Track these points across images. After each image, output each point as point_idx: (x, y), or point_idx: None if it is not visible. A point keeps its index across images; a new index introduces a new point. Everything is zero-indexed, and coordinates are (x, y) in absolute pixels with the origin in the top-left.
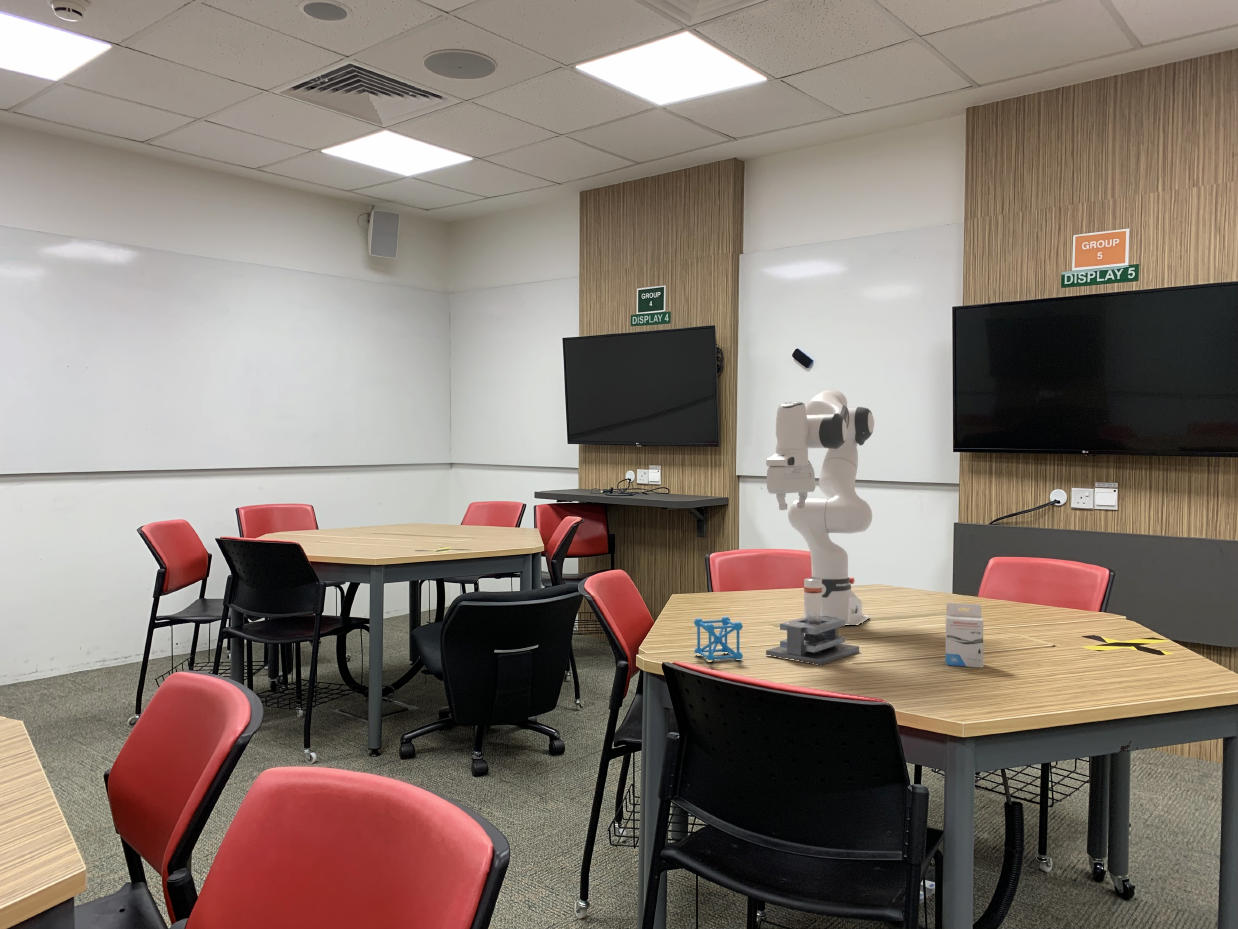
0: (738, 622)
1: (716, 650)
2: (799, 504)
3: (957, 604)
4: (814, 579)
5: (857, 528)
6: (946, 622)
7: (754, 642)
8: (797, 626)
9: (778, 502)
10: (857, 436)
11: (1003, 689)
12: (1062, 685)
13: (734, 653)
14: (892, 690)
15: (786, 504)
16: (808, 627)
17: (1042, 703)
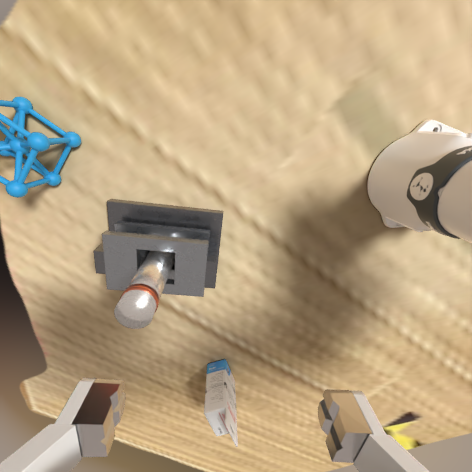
0: (9, 193)
1: (53, 129)
2: (335, 427)
3: (229, 431)
4: (138, 315)
5: None
6: (211, 405)
7: (184, 137)
8: (103, 264)
9: (37, 434)
10: None
11: (151, 408)
12: (194, 429)
13: (45, 174)
14: (78, 355)
15: (95, 449)
16: (108, 279)
17: (130, 429)
